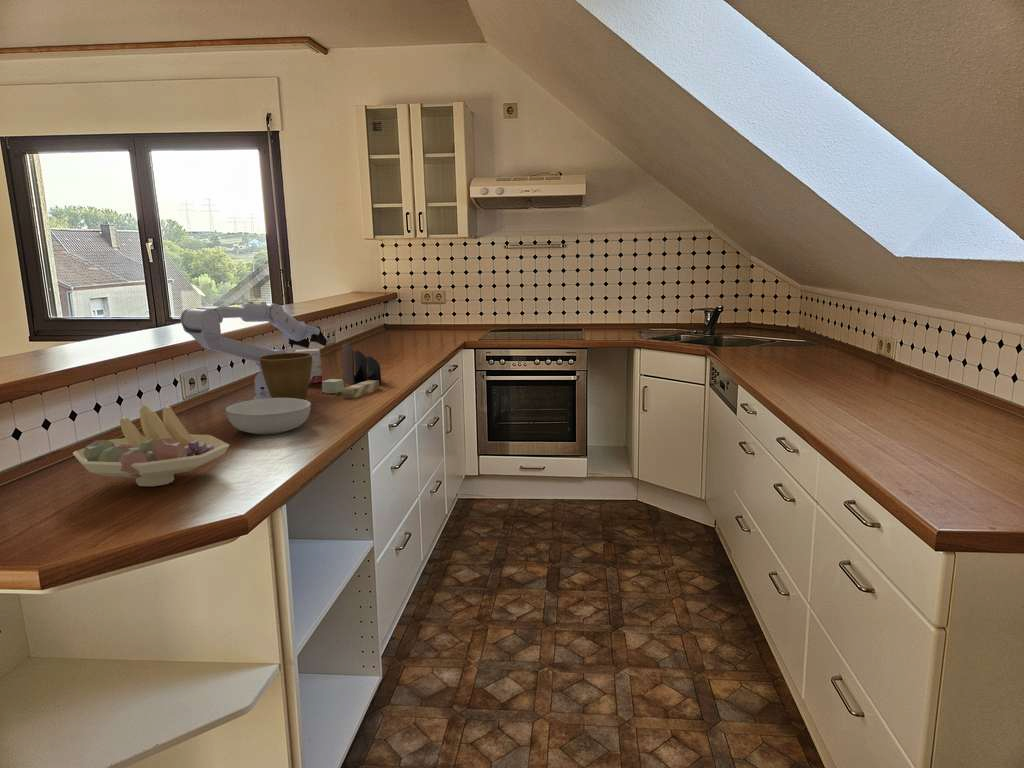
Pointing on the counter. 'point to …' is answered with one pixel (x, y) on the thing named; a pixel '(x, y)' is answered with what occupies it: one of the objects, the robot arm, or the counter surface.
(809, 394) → the counter surface
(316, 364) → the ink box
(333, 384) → the block
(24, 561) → the counter surface
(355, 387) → the board
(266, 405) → the serving bowl
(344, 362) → the letter holder
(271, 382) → the plant pot
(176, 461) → the dish with food
